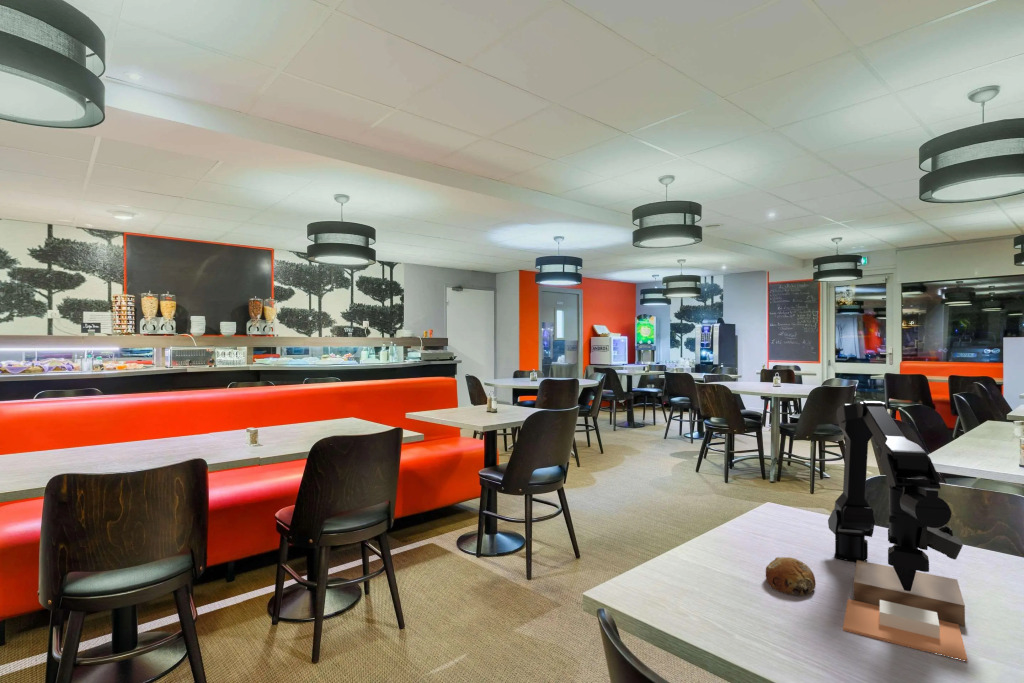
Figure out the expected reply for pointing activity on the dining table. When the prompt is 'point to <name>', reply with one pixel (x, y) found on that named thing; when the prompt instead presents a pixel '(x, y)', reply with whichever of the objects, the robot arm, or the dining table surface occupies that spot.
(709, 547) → the dining table surface
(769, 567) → the bread roll
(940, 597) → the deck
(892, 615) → the white rectangular block
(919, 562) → the robot arm
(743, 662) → the dining table surface
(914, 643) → the mat
